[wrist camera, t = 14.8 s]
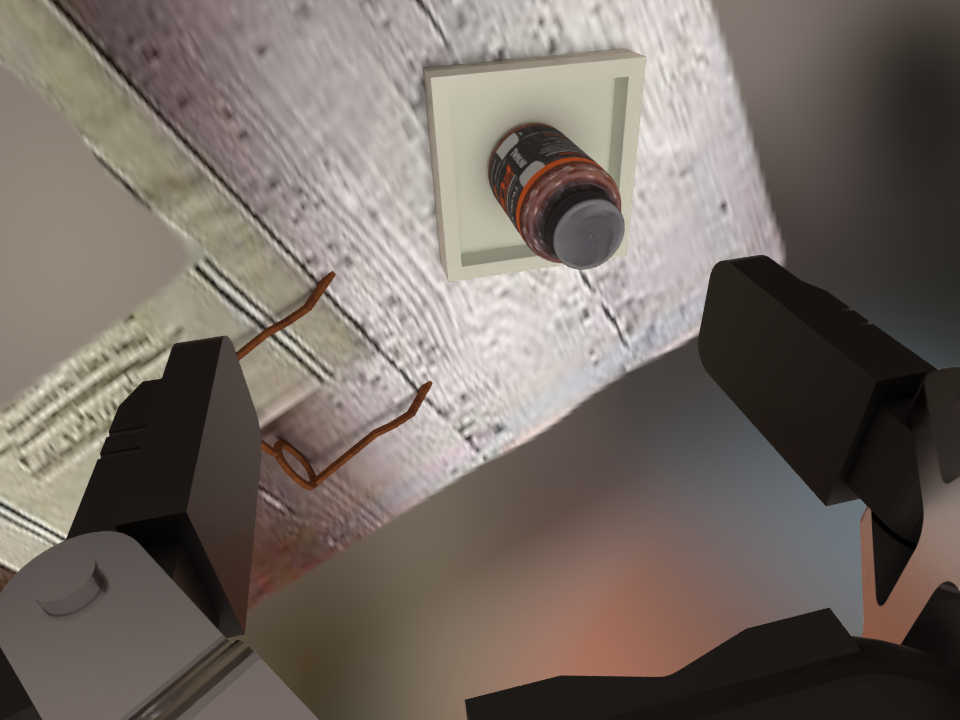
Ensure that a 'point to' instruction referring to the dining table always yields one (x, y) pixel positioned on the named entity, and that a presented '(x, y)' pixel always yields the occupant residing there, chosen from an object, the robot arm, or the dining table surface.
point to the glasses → (283, 444)
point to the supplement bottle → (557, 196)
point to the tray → (505, 106)
